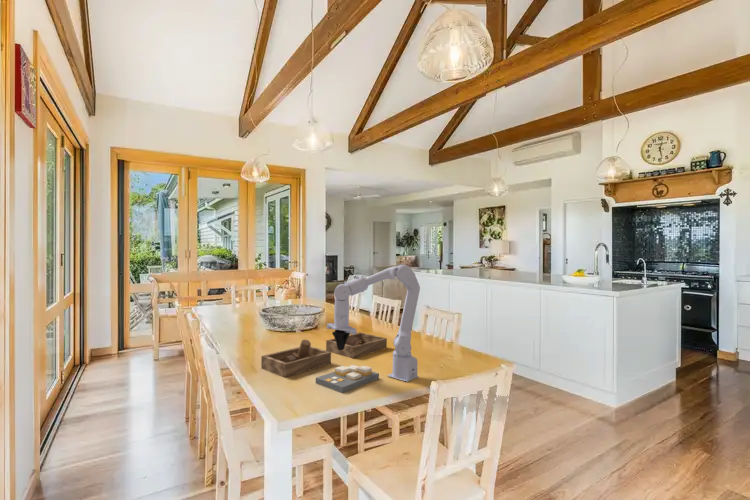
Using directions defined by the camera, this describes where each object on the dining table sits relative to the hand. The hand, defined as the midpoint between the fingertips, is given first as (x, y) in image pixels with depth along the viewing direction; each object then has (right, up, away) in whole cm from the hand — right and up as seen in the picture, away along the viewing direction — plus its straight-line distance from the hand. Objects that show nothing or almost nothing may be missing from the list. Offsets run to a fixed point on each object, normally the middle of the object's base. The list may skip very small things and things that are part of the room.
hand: (340, 349), depth 157 cm
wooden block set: (-18, -10, +11) cm, 23 cm away
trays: (-7, -10, +24) cm, 27 cm away
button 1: (+9, -9, -3) cm, 13 cm away
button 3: (+5, -10, +1) cm, 11 cm away
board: (+3, -11, -5) cm, 12 cm away
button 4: (+1, -9, -3) cm, 9 cm away
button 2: (+5, -10, -7) cm, 13 cm away
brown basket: (+9, -10, +37) cm, 39 cm away
